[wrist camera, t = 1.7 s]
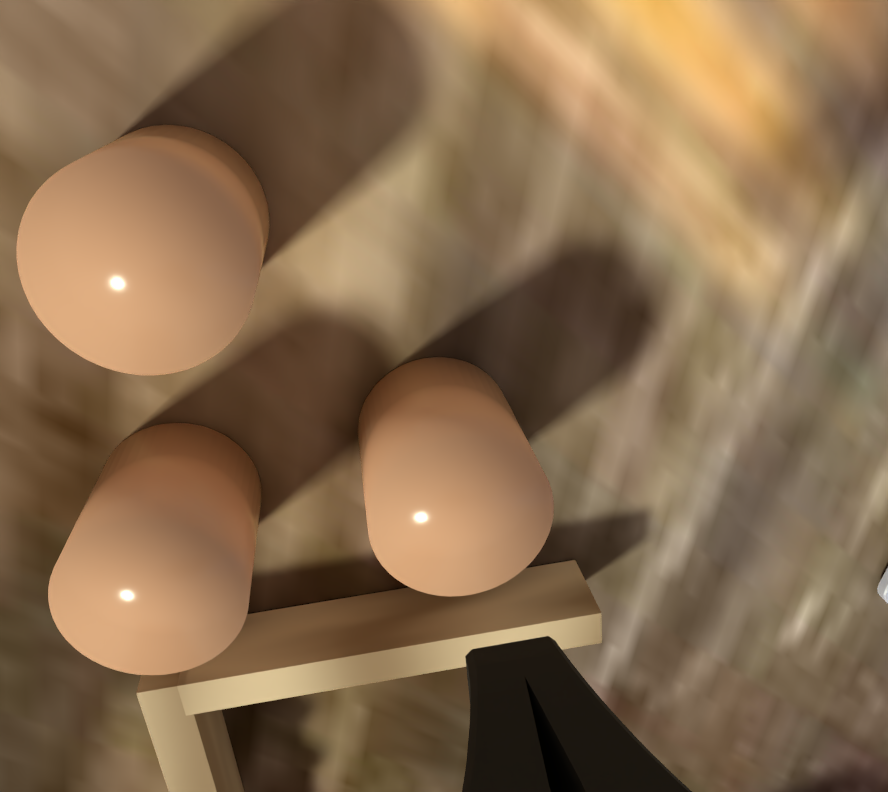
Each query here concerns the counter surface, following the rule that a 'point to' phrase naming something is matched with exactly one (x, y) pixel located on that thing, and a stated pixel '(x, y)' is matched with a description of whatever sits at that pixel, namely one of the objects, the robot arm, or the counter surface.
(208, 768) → the light wooden open frame
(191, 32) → the counter surface
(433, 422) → the rounded peach pegs
